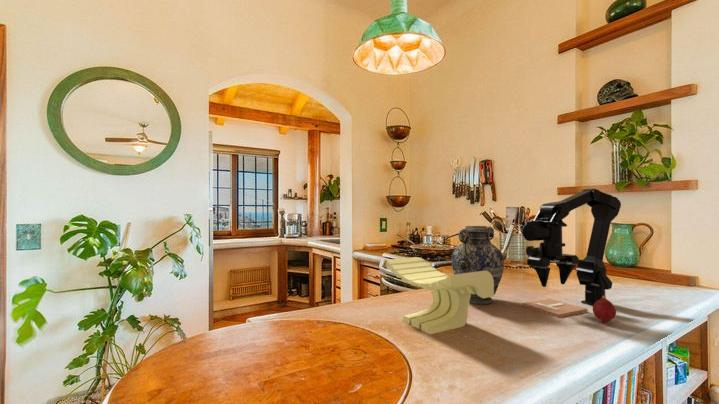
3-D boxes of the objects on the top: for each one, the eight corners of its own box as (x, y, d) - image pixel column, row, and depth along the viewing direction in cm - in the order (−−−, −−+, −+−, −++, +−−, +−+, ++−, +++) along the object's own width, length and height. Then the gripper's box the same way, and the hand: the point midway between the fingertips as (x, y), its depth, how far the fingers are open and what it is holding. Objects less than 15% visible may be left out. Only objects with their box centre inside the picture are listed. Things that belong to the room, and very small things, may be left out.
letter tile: (549, 301, 126) (549, 297, 126) (587, 311, 113) (587, 308, 113) (521, 305, 121) (521, 302, 121) (558, 317, 108) (558, 313, 108)
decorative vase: (485, 311, 114) (483, 227, 115) (440, 300, 129) (438, 226, 129) (516, 300, 127) (514, 225, 128) (472, 292, 142) (470, 224, 143)
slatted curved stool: (494, 333, 95) (493, 269, 95) (451, 345, 87) (450, 275, 87) (424, 306, 121) (424, 256, 121) (386, 313, 113) (386, 259, 114)
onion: (620, 326, 99) (620, 299, 99) (598, 325, 100) (598, 298, 101) (610, 320, 105) (609, 294, 105) (589, 319, 106) (588, 293, 106)
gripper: (550, 237, 128) (551, 278, 128) (513, 239, 121) (514, 283, 121) (579, 239, 118) (580, 284, 118) (541, 242, 111) (542, 290, 111)
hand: (553, 285), depth 117 cm, fingers open, 9 cm apart
